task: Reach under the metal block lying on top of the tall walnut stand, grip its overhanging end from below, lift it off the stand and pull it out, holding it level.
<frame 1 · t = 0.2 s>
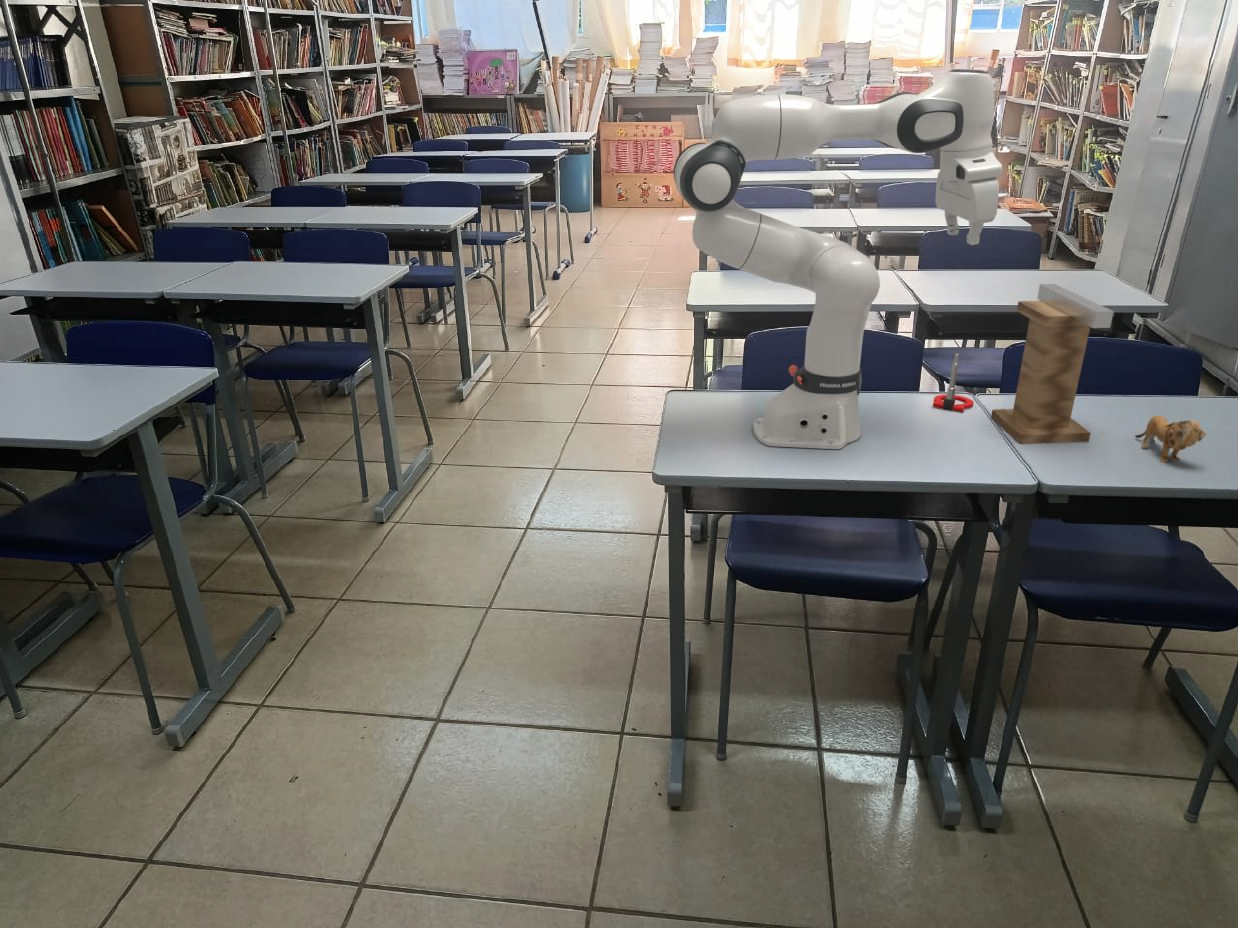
hand: (962, 239, 159), 40 cm above the table, tool pointing down, fingers open, 8 cm apart
walnut stand: (1038, 429, 174), on the table
tow hook: (952, 405, 189), on the table
metal block: (1071, 312, 160), point 26 cm above the table, touching walnut stand
lion figurine: (1163, 455, 161), on the table
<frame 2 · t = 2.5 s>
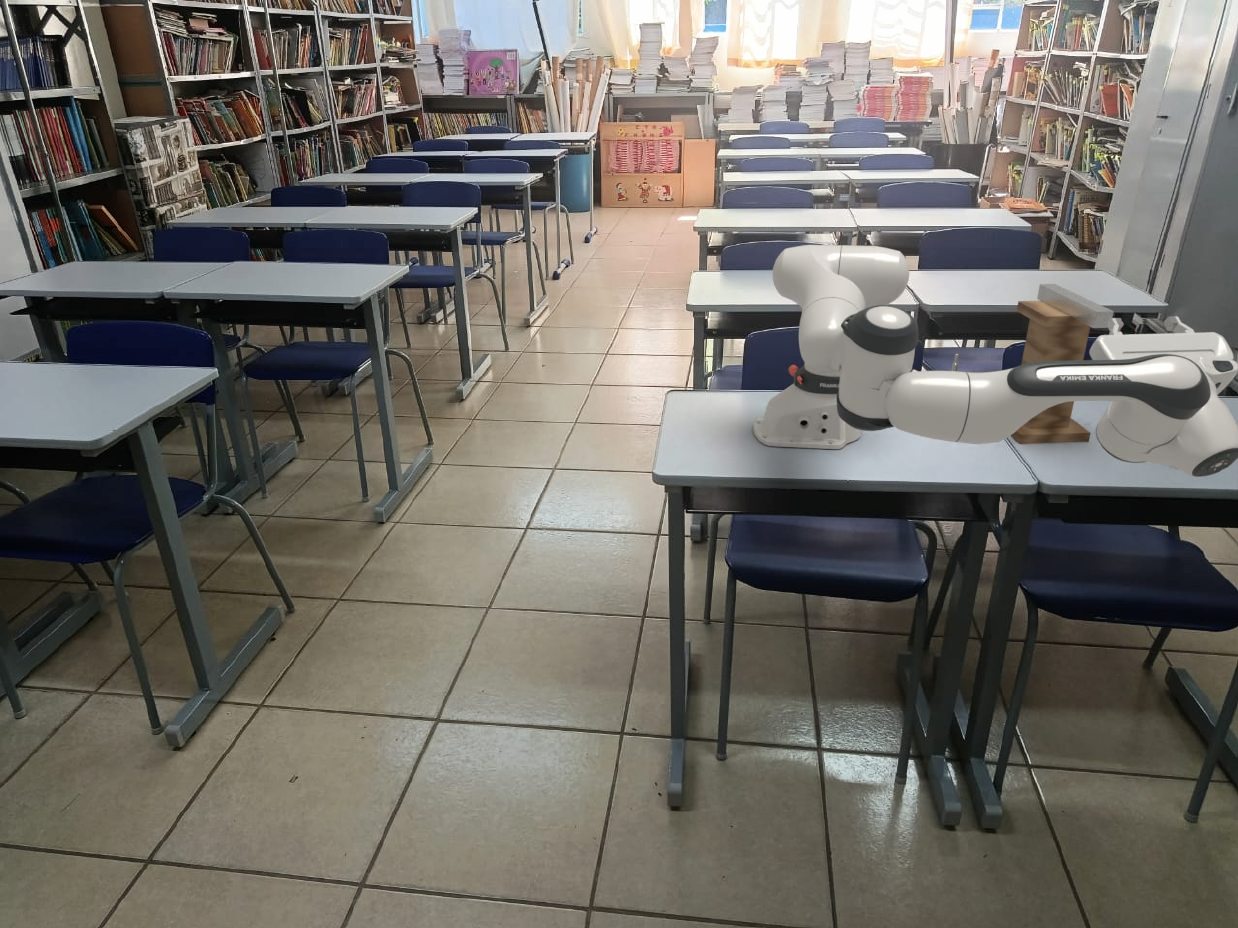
hand: (1141, 319, 138), 30 cm above the table, tool pointing upward, fingers open, 8 cm apart
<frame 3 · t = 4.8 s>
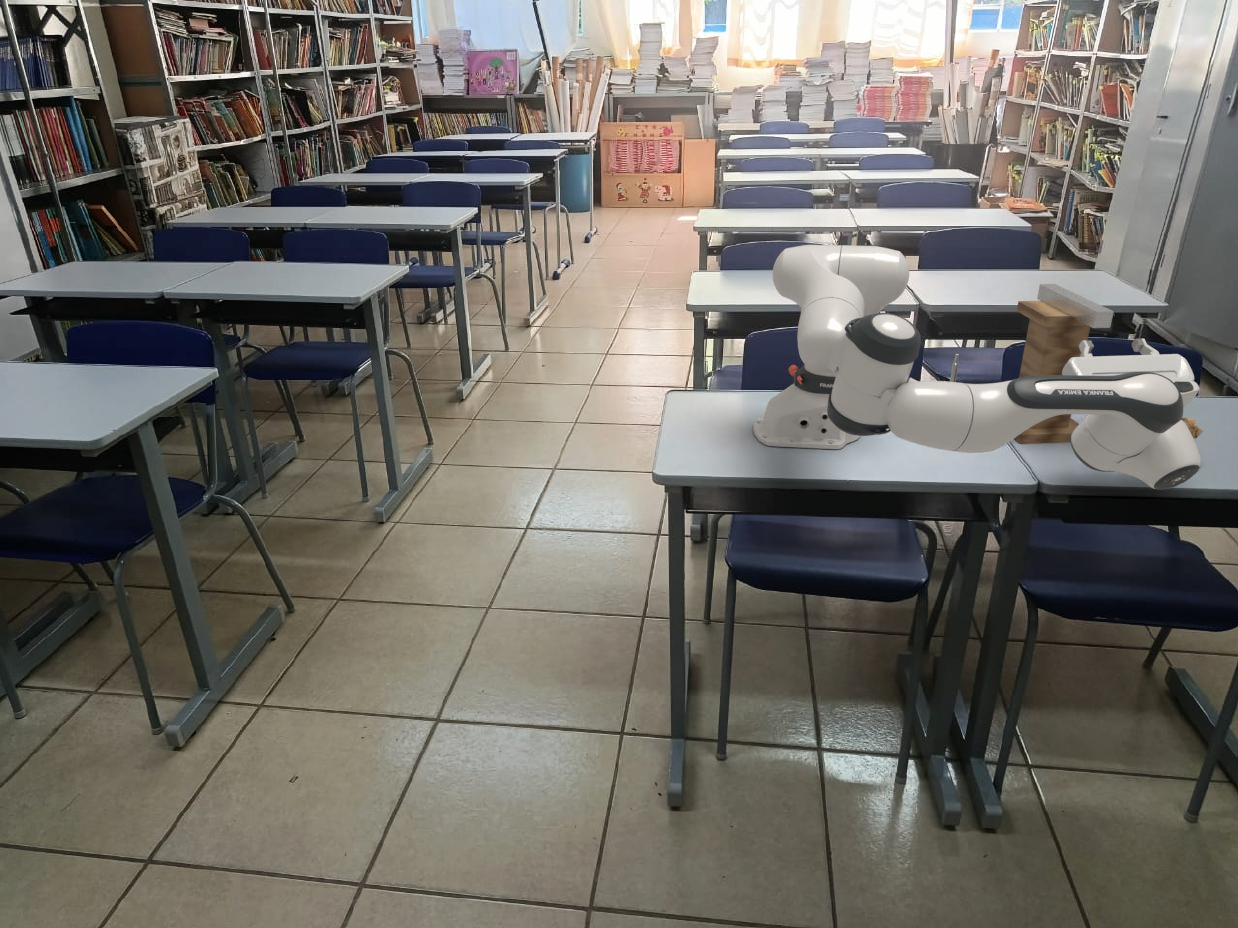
hand: (1110, 341, 148), 24 cm above the table, tool pointing upward, fingers open, 8 cm apart
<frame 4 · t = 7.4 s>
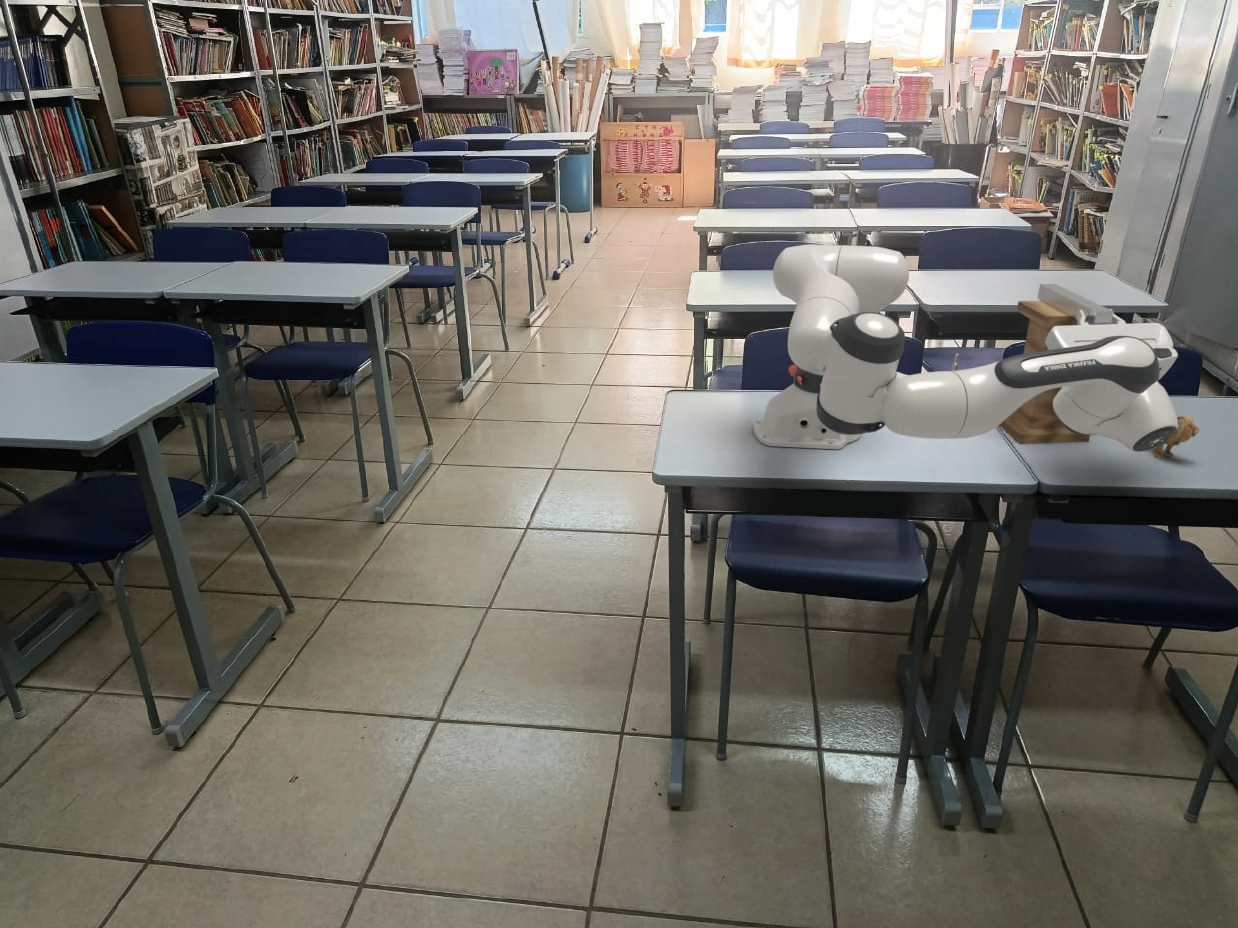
hand: (1093, 312, 152), 28 cm above the table, tool pointing upward, fingers closed on metal block, 3 cm apart
metal block: (1071, 312, 160), point 26 cm above the table, touching gripper, walnut stand
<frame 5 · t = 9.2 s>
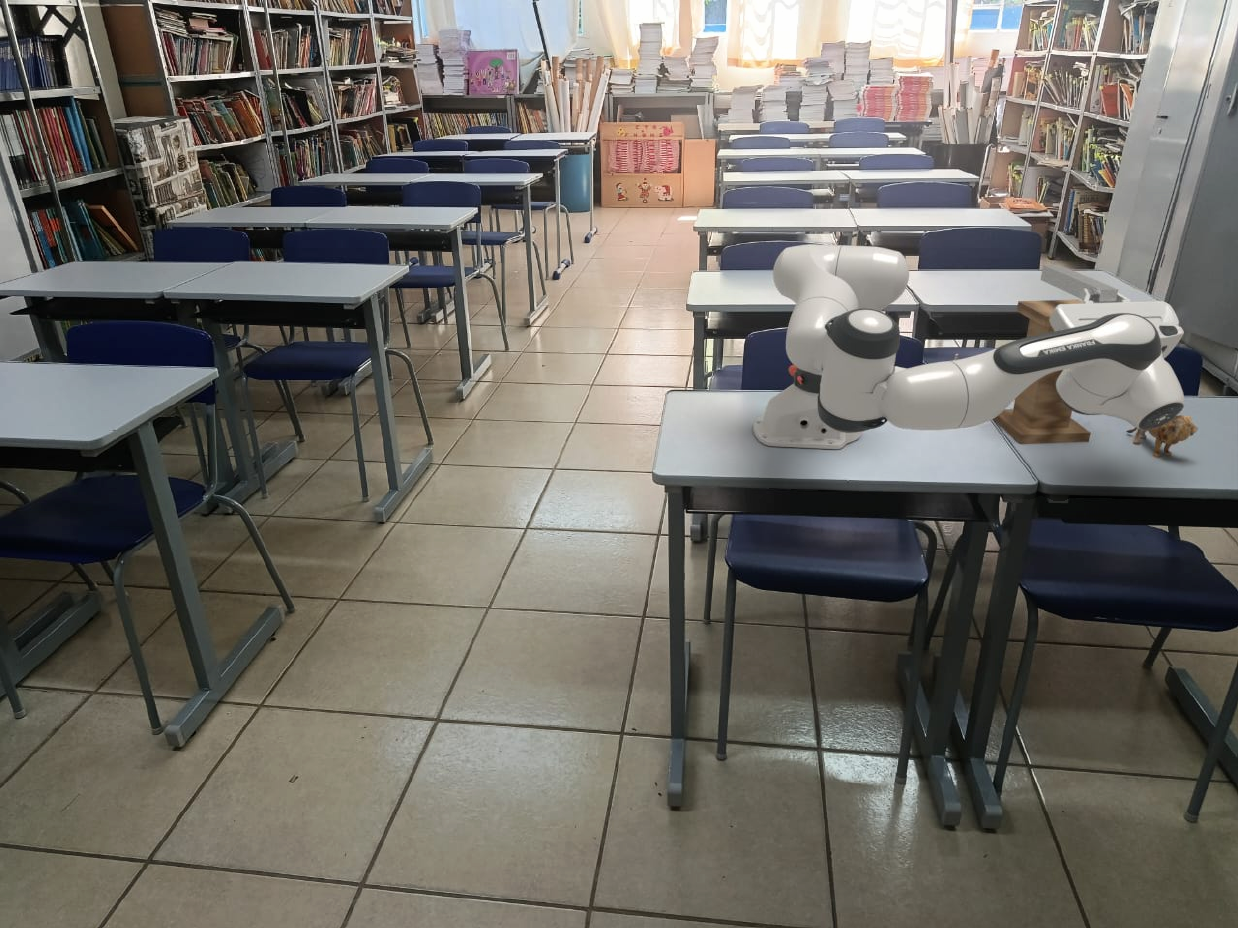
hand: (1097, 290, 151), 32 cm above the table, tool pointing upward, fingers closed on metal block, 3 cm apart
metal block: (1075, 292, 158), point 30 cm above the table, touching gripper
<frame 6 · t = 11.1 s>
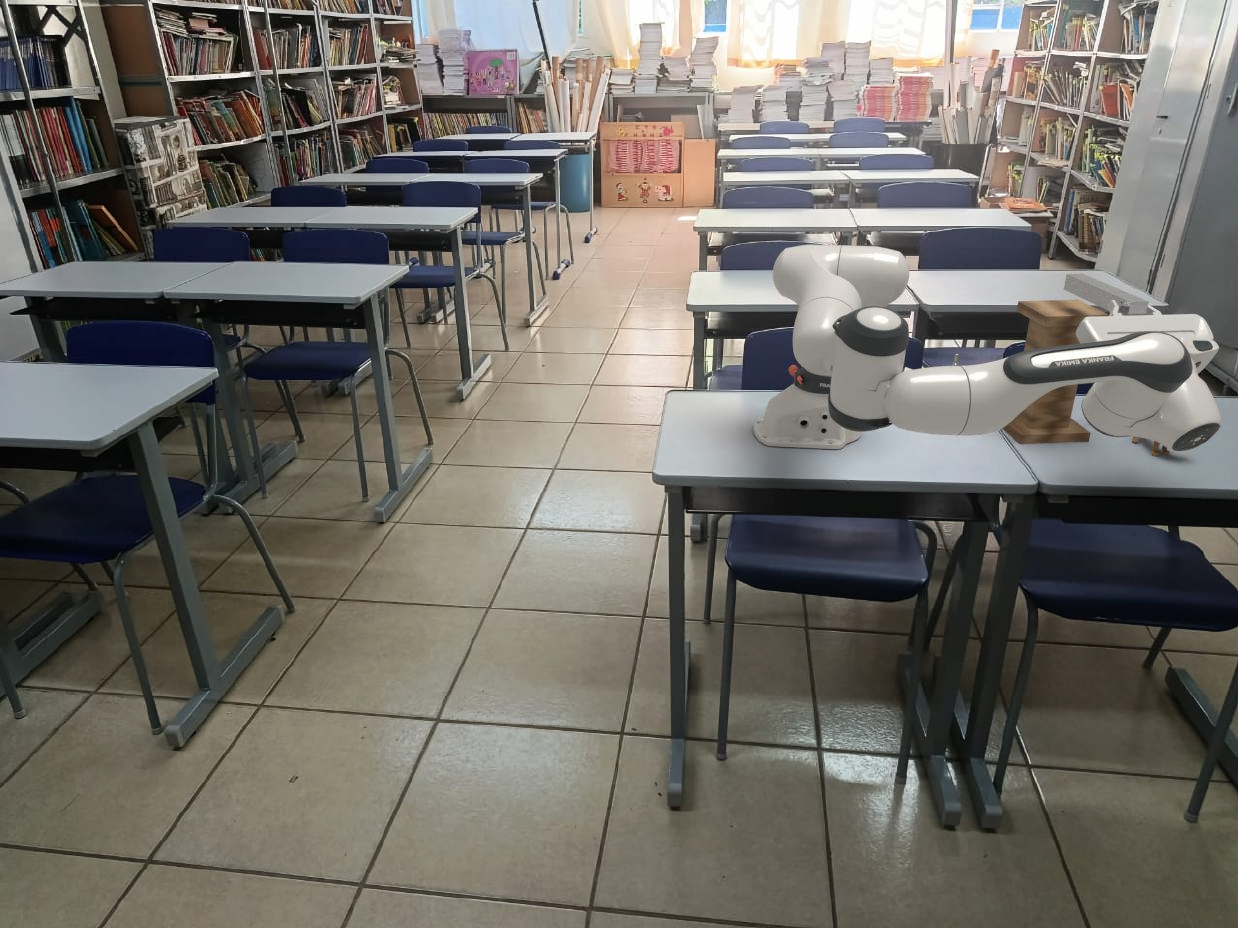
hand: (1126, 302, 143), 32 cm above the table, tool pointing upward, fingers closed on metal block, 3 cm apart
metal block: (1101, 303, 151), point 30 cm above the table, touching gripper
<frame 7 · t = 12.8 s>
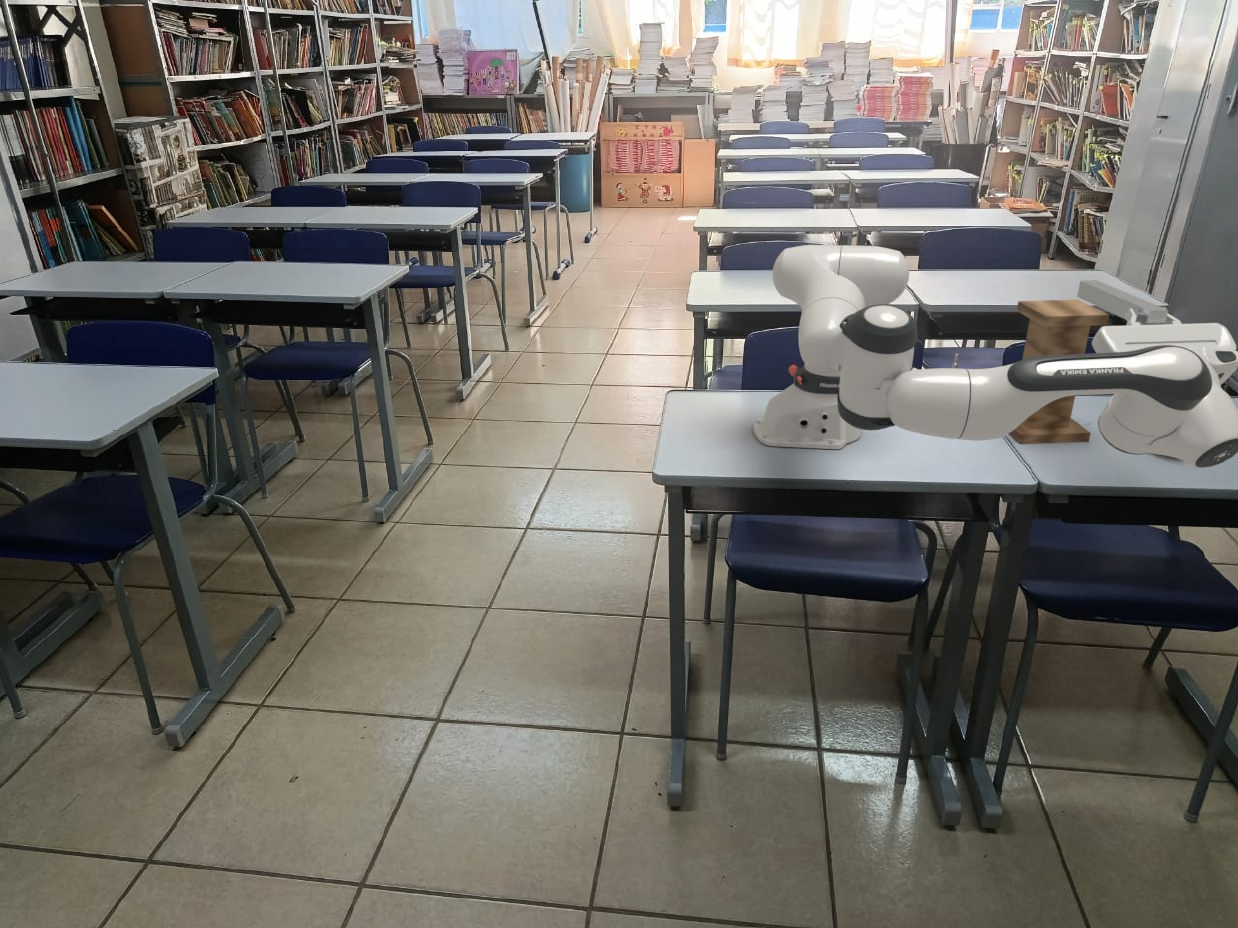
hand: (1144, 310, 138), 32 cm above the table, tool pointing upward, fingers closed on metal block, 3 cm apart
metal block: (1117, 311, 145), point 30 cm above the table, touching gripper
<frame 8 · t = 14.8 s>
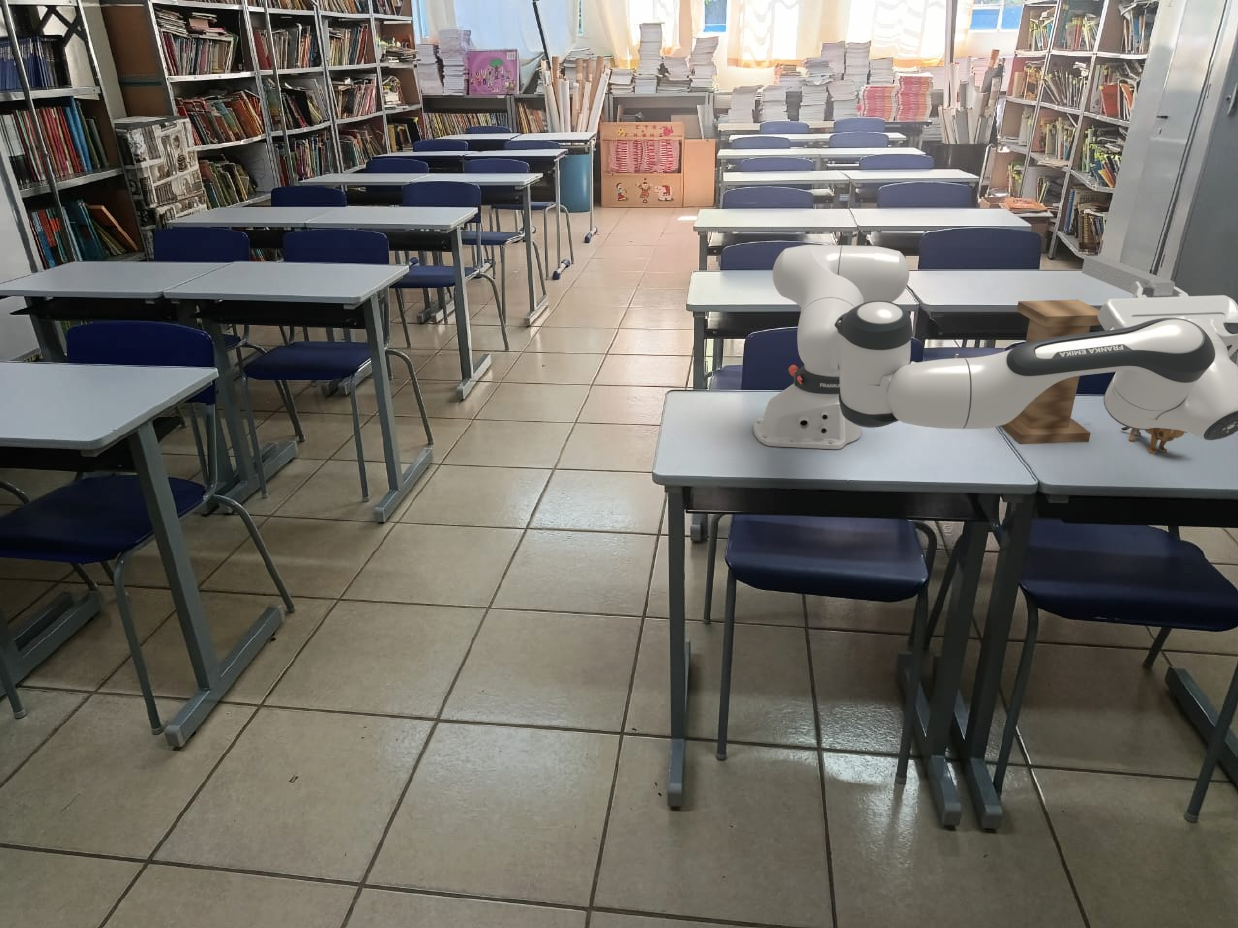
hand: (1150, 284, 136), 36 cm above the table, tool pointing upward, fingers closed on metal block, 3 cm apart
metal block: (1122, 286, 143), point 34 cm above the table, touching gripper
at the end: the gripper is holding metal block; metal block point 34.4 cm above the table; metal block tilted 0° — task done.
